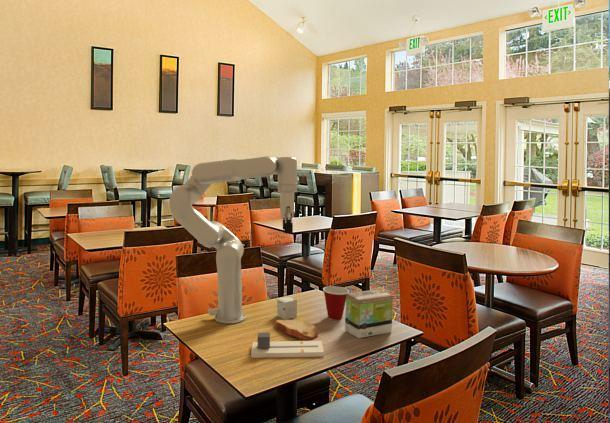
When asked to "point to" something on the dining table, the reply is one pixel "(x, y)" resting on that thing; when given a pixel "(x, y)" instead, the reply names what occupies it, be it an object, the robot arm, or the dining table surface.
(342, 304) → the plastic cup
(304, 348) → the console board
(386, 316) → the tea box
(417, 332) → the dining table surface
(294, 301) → the skincare box
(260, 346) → the slider tab
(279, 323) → the bread slice
